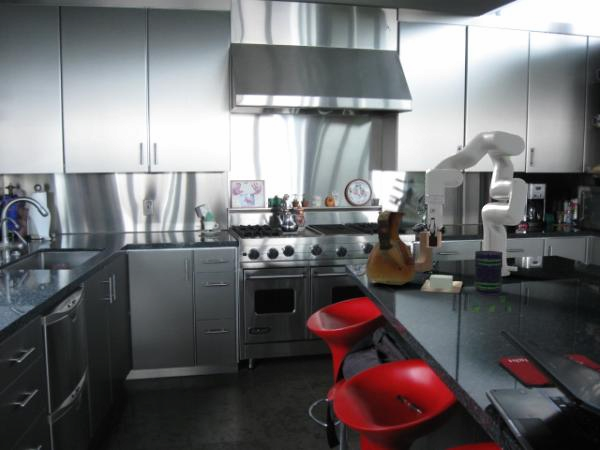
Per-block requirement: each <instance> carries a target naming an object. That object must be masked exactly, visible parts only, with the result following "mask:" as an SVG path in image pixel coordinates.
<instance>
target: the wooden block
mask: <svg viewBox="0 0 600 450" xmlns="http://www.w3.org/2000/svg"><path fill="white" fill-rule="evenodd" d="M427 232H429V230H428V231H426V230H425V231H420V232H419V254H418V258H417V260H414V262H415V273H420V272H422V273H427V272H430V271H431V270H432V271H433V266H434V265H433V259H434V258H433V257H434V255H433V249H434V248H427ZM426 271H427V272H426Z"/></svg>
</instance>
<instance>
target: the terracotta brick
mask: <svg viewBox="0 0 600 450" xmlns="http://www.w3.org/2000/svg"><path fill="white" fill-rule="evenodd" d="M441 247H442V231H439V232H437V247H430V246H429V231H428V232H427V248H433V249H434V248H435V249H440V248H441Z"/></svg>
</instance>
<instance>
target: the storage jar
mask: <svg viewBox="0 0 600 450" xmlns="http://www.w3.org/2000/svg"><path fill="white" fill-rule="evenodd" d="M474 254H475V255H474V267H475V275H474V278H473V279H474V293H475V294H480V295H484V296H485V295H488V296H492V295H493V296H496V295H502V293H503V290H502V289H503V277H502V276H501V275H502V266H503V265H502V263H503V260H502V255H503V253H502V252H498V251H483V250H476V251H475V252H474Z"/></svg>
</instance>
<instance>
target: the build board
mask: <svg viewBox="0 0 600 450" xmlns="http://www.w3.org/2000/svg"><path fill="white" fill-rule="evenodd" d="M462 286H463V281H457V280H455V281H454V280H453V286H452V289H443V288H430V279H426V280H425V282H424V283H423V285H422V286H421V288H420V291H421V292H433V293H449V294H453V293H454V294H460V293H461V289H462Z"/></svg>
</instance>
